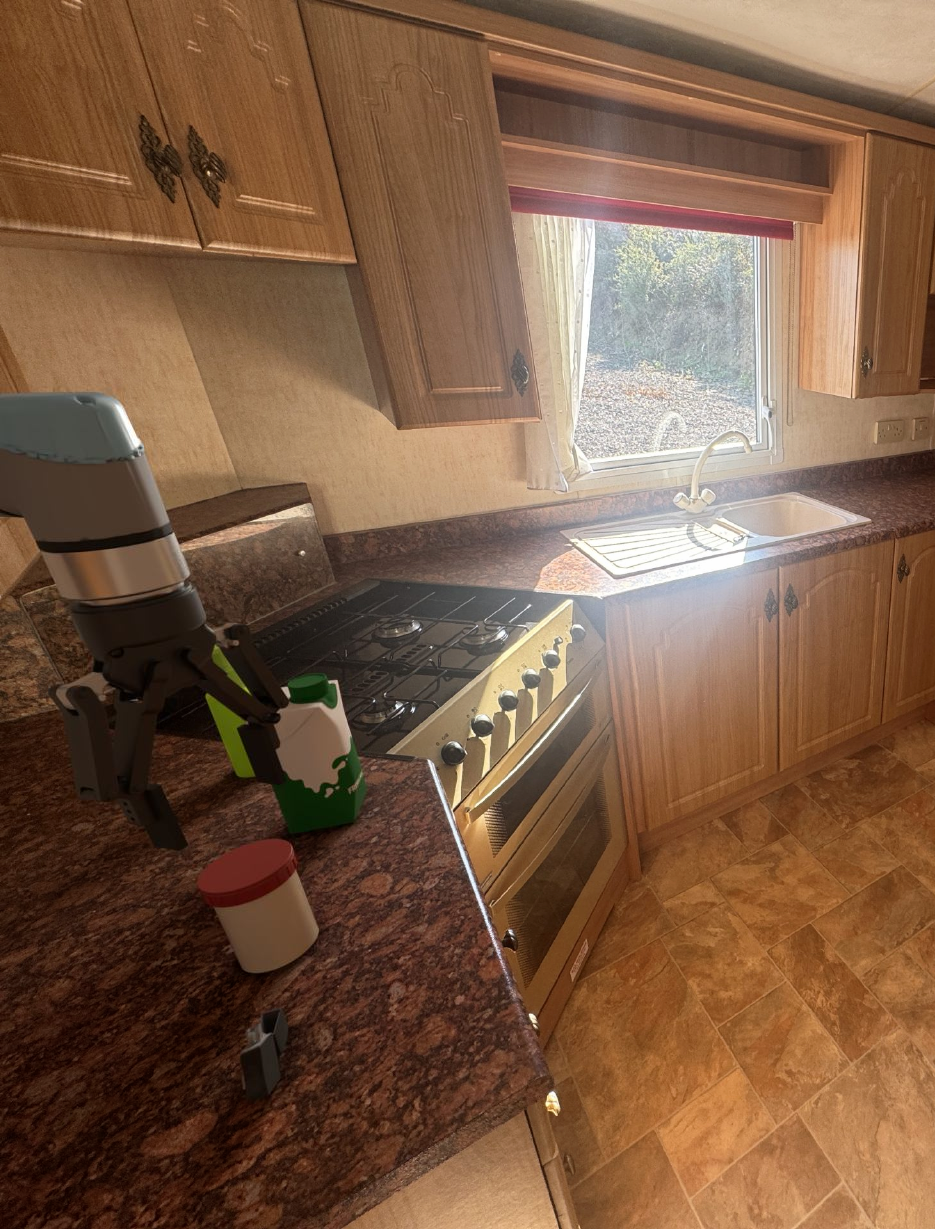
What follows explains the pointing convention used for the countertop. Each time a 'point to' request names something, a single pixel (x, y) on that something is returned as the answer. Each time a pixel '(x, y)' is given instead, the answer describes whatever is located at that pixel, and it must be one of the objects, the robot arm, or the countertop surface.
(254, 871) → the jam lid
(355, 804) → the milk carton
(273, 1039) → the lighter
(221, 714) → the soap dispenser
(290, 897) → the jam jar
